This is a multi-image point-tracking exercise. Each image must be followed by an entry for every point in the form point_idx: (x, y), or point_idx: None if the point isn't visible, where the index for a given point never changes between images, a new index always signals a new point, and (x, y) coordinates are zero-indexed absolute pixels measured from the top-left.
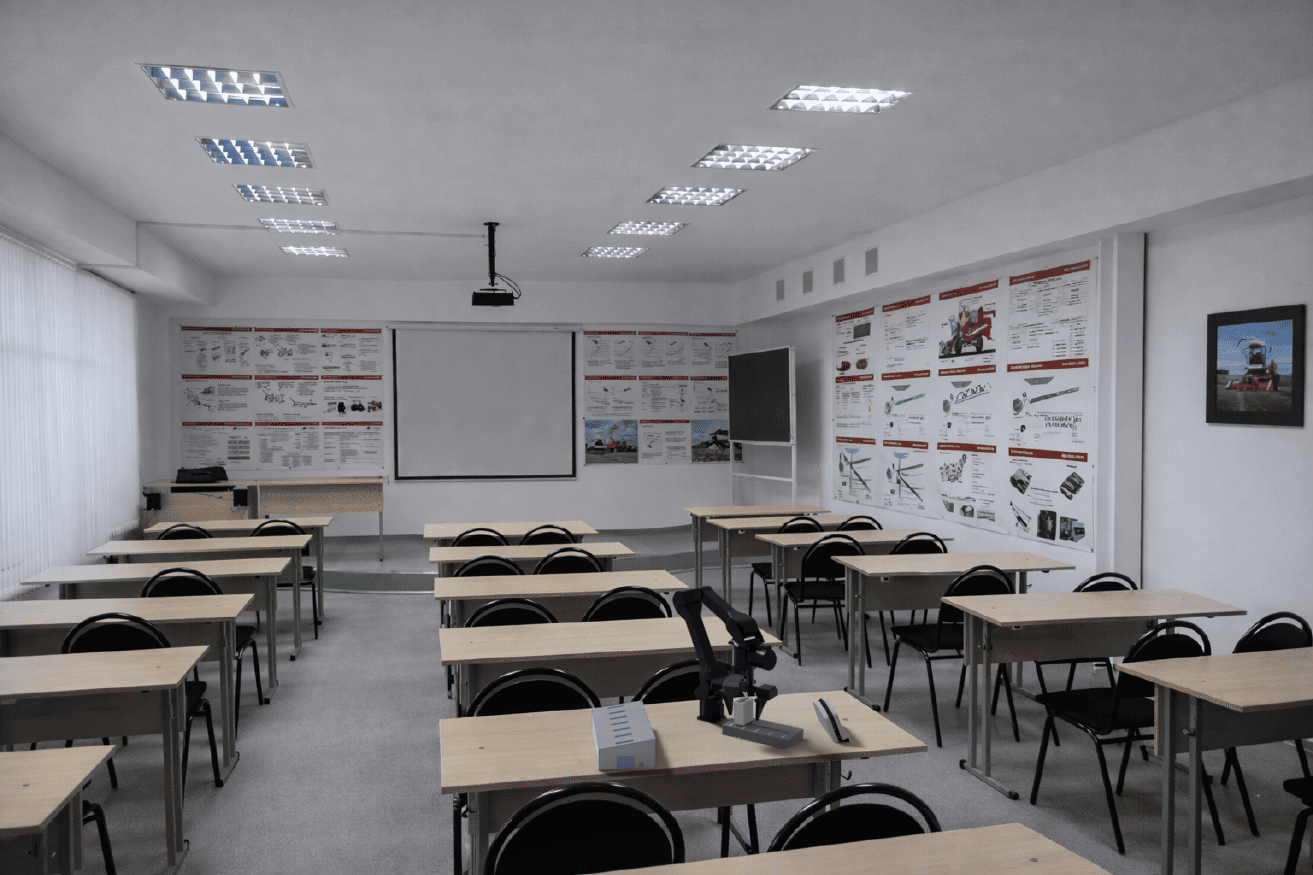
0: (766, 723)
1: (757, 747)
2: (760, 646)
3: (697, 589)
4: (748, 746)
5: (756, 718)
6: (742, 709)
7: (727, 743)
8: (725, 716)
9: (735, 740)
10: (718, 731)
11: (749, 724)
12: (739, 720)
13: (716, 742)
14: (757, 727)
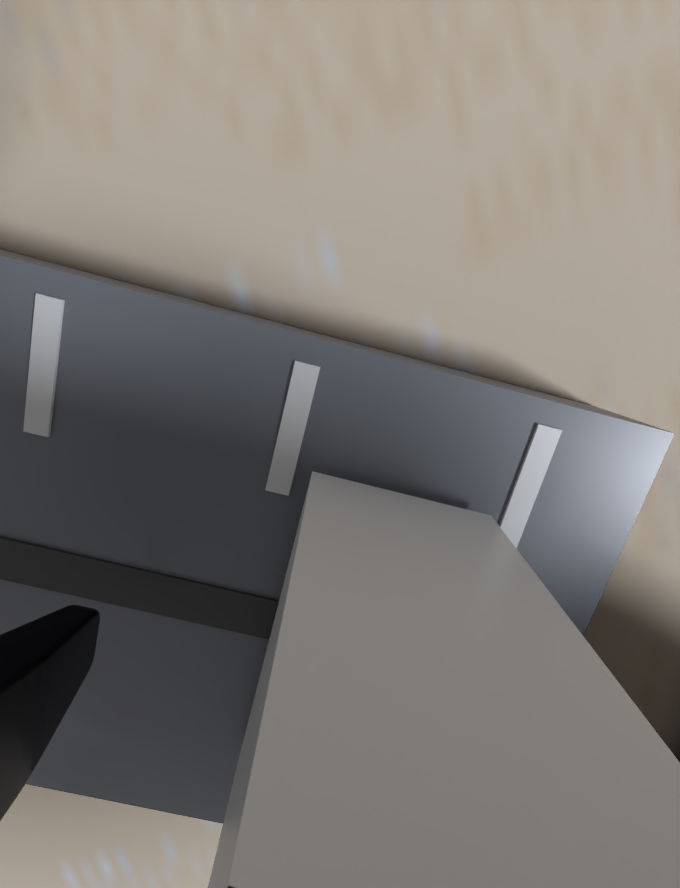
0: None
1: (3, 54)
2: None
3: None
4: (137, 45)
5: (40, 625)
6: (306, 680)
7: (462, 54)
8: None
9: (377, 226)
10: None
11: (248, 590)
12: (392, 520)
13: (632, 32)
14: (91, 512)
